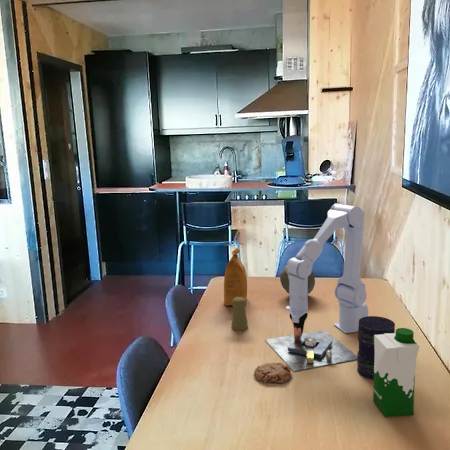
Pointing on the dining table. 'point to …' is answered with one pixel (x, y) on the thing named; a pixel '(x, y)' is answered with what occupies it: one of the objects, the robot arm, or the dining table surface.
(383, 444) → the dining table surface
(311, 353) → the metal parts fixture
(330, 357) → the dowel pin
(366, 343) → the storage jar
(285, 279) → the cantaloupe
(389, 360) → the milk carton
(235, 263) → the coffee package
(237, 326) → the olive green shaker
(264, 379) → the cookie
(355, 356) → the post base
